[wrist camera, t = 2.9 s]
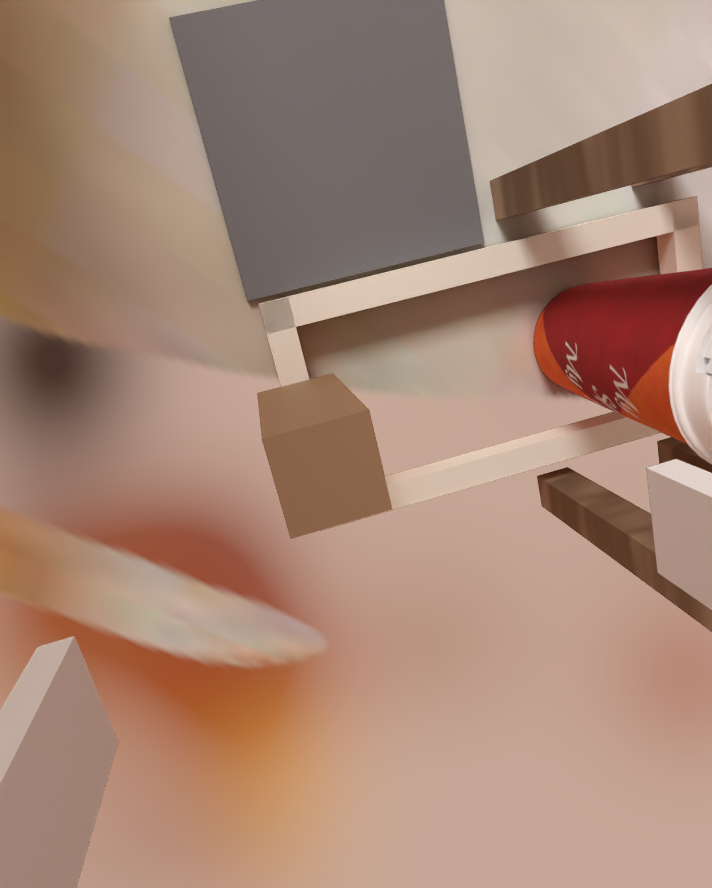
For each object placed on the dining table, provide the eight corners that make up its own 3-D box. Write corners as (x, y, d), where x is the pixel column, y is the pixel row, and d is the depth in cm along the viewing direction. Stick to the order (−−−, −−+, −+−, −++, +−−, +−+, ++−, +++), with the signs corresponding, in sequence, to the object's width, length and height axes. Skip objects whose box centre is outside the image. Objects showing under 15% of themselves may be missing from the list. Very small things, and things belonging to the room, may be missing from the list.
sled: (296, 527, 35) (318, 634, 24) (234, 309, 32) (227, 321, 21) (695, 412, 38) (878, 463, 27) (678, 199, 35) (880, 158, 24)
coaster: (247, 300, 32) (247, 300, 32) (169, 20, 29) (169, 17, 28) (482, 243, 34) (483, 243, 33) (435, -32, 30) (437, -35, 30)
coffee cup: (493, 385, 36) (658, 451, 21) (544, 243, 34) (760, 211, 20) (616, 424, 38) (843, 508, 23) (669, 291, 36) (948, 293, 22)
